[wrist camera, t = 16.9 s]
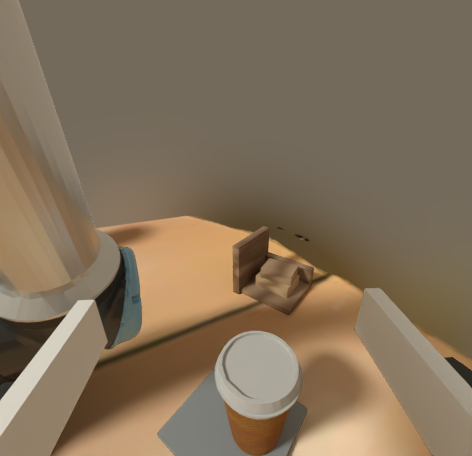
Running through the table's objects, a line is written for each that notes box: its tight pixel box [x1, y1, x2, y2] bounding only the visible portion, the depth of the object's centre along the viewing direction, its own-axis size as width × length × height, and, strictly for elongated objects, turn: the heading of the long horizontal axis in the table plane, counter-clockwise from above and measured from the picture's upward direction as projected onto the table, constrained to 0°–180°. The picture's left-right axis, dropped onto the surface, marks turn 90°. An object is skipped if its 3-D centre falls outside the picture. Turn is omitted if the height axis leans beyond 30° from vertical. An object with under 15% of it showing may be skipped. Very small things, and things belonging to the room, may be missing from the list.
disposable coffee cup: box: [215, 331, 302, 456], centre depth 29 cm, size 10×10×12 cm
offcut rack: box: [233, 226, 314, 315], centre depth 56 cm, size 14×13×12 cm
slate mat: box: [157, 369, 307, 456], centre depth 32 cm, size 14×14×1 cm
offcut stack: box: [256, 258, 300, 298], centre depth 56 cm, size 8×6×5 cm
